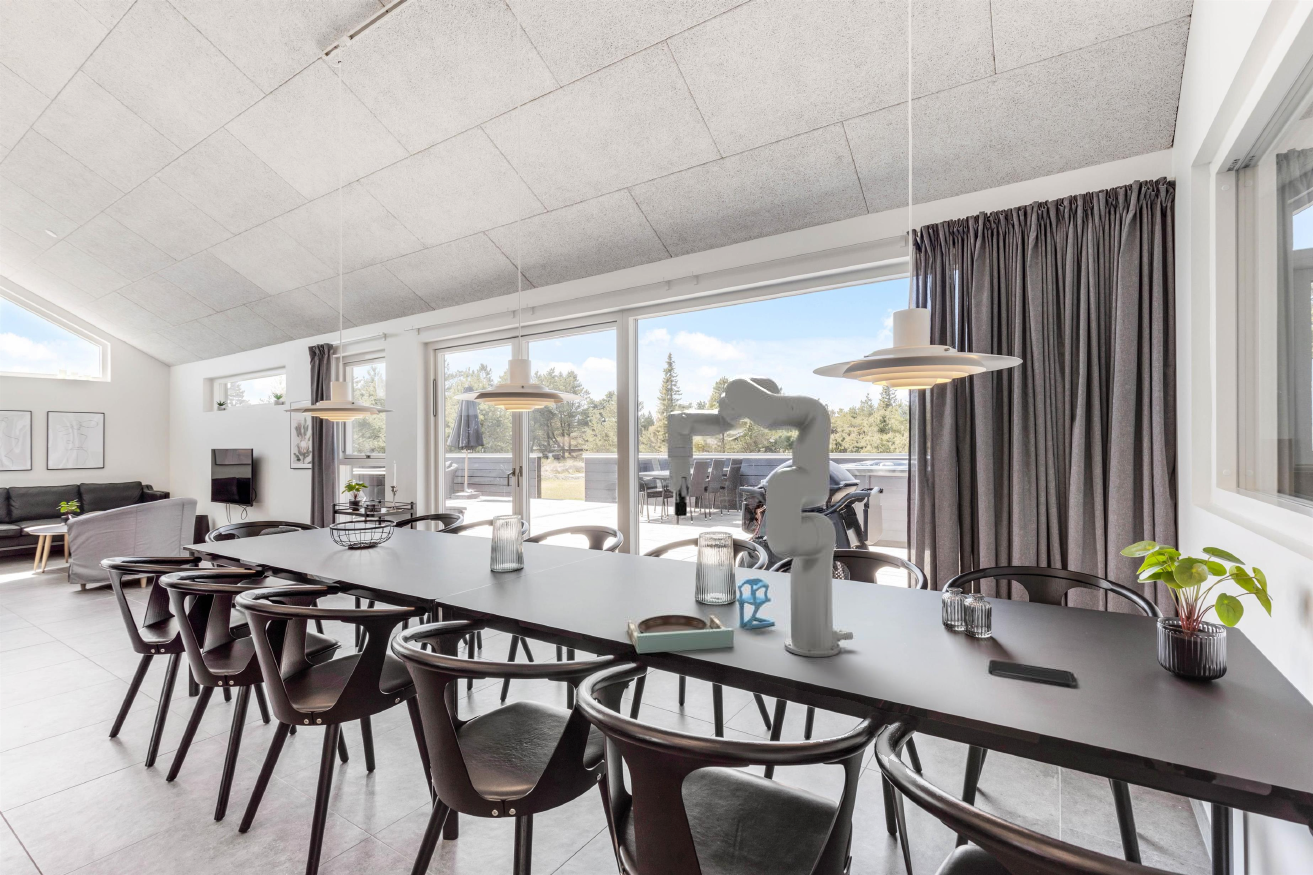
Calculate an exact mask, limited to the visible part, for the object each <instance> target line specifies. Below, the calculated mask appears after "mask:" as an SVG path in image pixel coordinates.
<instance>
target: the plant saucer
mask: <svg viewBox="0 0 1313 875" xmlns="http://www.w3.org/2000/svg"><path fill="white" fill-rule="evenodd" d="M708 625H709V624H708V622H707V621H706V620H704V619H701V618H700V617H696V616H692V615H685V614H665V615H664V614H663V615H655V616H652V617H648V618H645V619H642V620H641V621H639V623H638V624H637V630H638V631H639V632H640V634H645V633H661V632H676V631H692V630H708V627H709V626H708Z"/></svg>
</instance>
